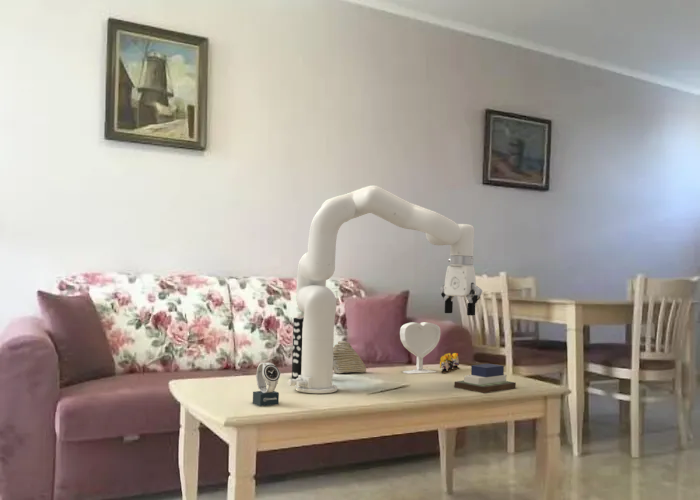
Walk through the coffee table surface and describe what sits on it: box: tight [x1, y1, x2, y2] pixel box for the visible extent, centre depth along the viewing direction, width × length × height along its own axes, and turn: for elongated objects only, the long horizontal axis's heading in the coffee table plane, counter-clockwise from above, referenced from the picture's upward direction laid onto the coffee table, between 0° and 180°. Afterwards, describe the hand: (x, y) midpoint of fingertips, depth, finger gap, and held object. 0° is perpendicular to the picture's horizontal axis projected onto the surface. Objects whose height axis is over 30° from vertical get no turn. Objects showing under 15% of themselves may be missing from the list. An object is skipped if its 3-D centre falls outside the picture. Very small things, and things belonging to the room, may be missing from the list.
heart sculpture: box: [399, 321, 442, 375], centre depth 248 cm, size 16×5×18 cm, turn 117°
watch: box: [252, 361, 282, 407], centre depth 183 cm, size 6×8×11 cm
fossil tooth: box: [333, 340, 367, 375], centre depth 241 cm, size 12×6×15 cm
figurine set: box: [439, 352, 461, 374], centre depth 253 cm, size 3×16×7 cm, turn 151°
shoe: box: [463, 363, 507, 385], centre depth 217 cm, size 14×6×5 cm, turn 130°
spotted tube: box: [291, 317, 304, 379], centre depth 227 cm, size 8×8×20 cm
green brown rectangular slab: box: [454, 379, 517, 394], centre depth 217 cm, size 16×12×2 cm
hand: (459, 314), depth 221 cm, fingers open, 9 cm apart
